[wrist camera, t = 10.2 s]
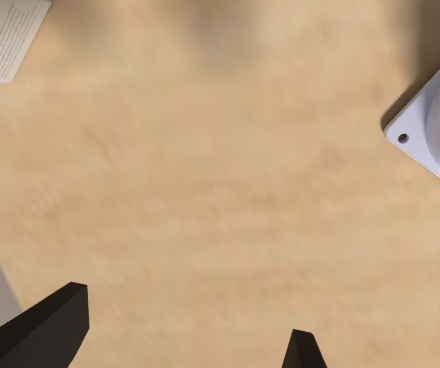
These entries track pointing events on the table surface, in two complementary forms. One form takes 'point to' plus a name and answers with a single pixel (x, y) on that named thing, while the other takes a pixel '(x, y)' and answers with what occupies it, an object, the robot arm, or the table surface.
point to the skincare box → (18, 32)
